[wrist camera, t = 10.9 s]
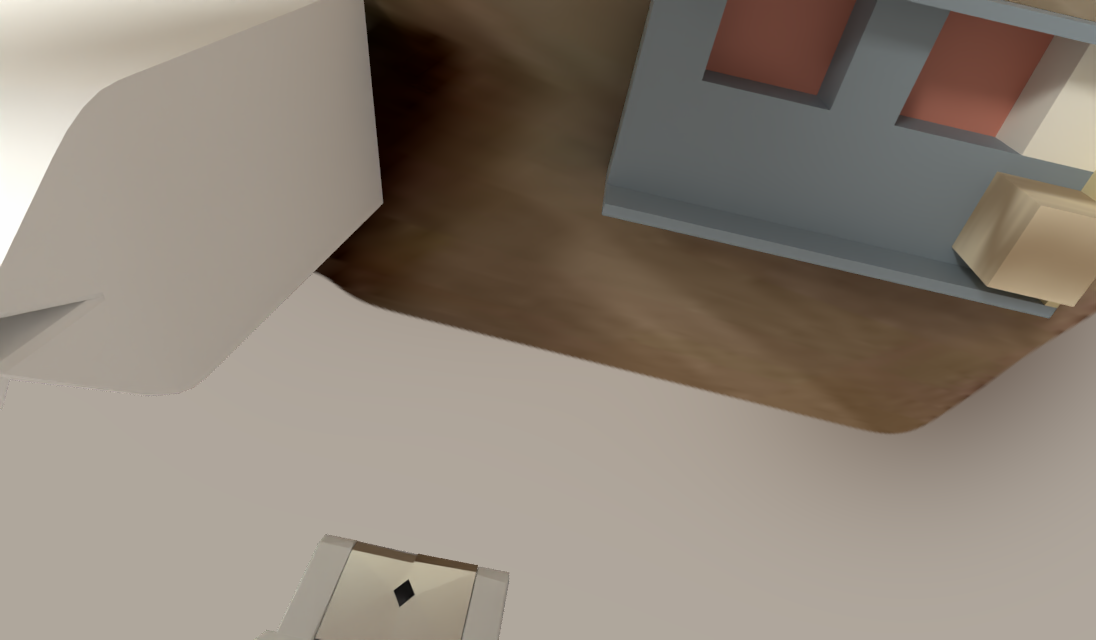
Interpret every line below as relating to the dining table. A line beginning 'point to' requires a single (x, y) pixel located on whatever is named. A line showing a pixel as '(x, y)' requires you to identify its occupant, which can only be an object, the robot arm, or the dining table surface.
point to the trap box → (852, 128)
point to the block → (1032, 239)
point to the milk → (171, 178)
